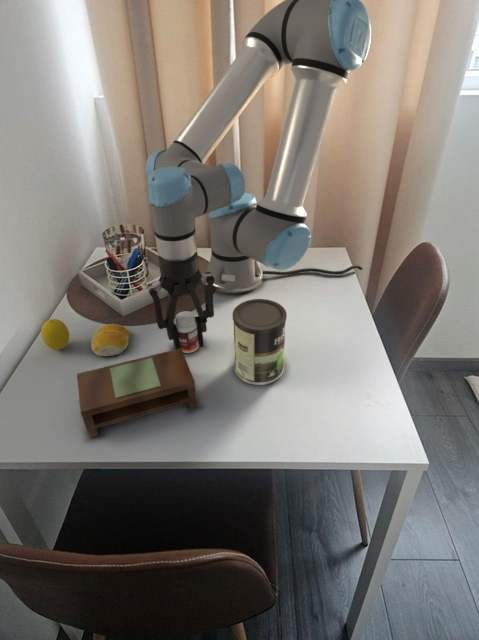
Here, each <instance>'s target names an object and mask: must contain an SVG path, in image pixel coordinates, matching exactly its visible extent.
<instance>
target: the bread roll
mask: <svg viewBox="0 0 479 640" xmlns="http://www.w3.org/2000/svg"><path fill="white" fill-rule="evenodd" d="M129 340H130V331H129V330H128V328H126V327H125V326H124V325H121V324H118V323H108V324H105V325H102V326H100V327H99V328H98V329H97V330H95V332H94V334H93V335H92V336H91V340H90V348H91V351H92V352H93V353H94V354H95V355H97V356H100V357H112V356H118V355H120V354H121V353H122V352H123V351H124V350H126V349H127V347H128V345H129Z"/></svg>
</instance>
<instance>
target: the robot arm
mask: <svg viewBox="0 0 479 640" xmlns="http://www.w3.org/2000/svg"><path fill="white" fill-rule="evenodd" d="M371 37H372V25H371V21H370V16H369V11H368V8H367V7H366V5H365V4H364V3H363V2H362V1H361V0H283V1H281V2H280V3H278V4H277V5H275V6H274V7H273V8H271V9H270V10H269V11H268V12H267V13H265V14H264V15H263V16H262V17H261V18H260V19H259V20H258V21H257V22H256V23H255V25H254V26H253V27H252V28H251V29H250V30H249V32H248V33H247V34H246V35H245V37H244V38H243V39H242V41H241V43H240V52H239V53H238V55H237V56H236V57H235V59H234V60H233V61H232V63H231V64H230V65H229V67H228V68H227V69H226V71H225V72H224V73H223V75H222V76H221V77H220V79H219V80H218V81H217V82H216V84H215V85H214V87H213V88H212V89H211V91H210V92H209V94H208V95H207V96H206V97H205V99H204V100H203V101H202V102H201V104H200V106H199V107H198V108H197V109H196V111H195V112H194V113H193V115H192V116H191V117H190V119H189V120H188V121H187V122H186V124H185V125H184V127H183V128H182V129H181V131H180V132H179V133H178V134H177V136H176V137H175V139H174V140H173V141H172V143H171V144H170V145H169V146H168V148H167V149H158V150H156V151H153V152H152V153H150V155H149V156H148V157H147V160H146V162H145V175H146V177H147V191H148V192H147V193H148V203H149V205H150V213H151V220H152V225H153V230H154V237H155V238H154V239H155V244H156V252H157V255H158V256H157V259H158V266H159V271H160V276H159V278H158V282H156V283H154V284H152V283H148V284H147V285H146V286H147V290H148V293H149V295H150V297H151V299H152V305H153V310H154V316H155V322H156V324H157V327H158V329H159V330H163V329H166V334H167V338H168V340H169V341H172V342H173V347H174V350H176V349H180V348H179V340H178V333H177V328H176V325H175V324H176V322H175V319H176V311H177V304H178V302H179V298H181V297H182V296H189V297H190V300H191V302H192V304H193V306H194V309H195V311H196V313H197V315H196V316H194V317H195V321H196V323H197V328H198V338H199V347H200V348H203V347H204V335H203V333H206V332H207V330H208V329H207V324H208V319H209V318H213V317H214V316H215V306H214V291H215V292H218V293H221V294H226V295H239V294H240V295H241V294H245V293H249V292H252V291H253V290H256V289H257V288H258V287H259V286H260V285H261V284H262V282H263V275H275V276H276V275H277V276H287V275H289V276H290V275H295V274H300V273H306V272H307V273H308V272H314V273H323V274H327V275H343V274H347V273H348V272H350V271H352V270H354V269H358V270H359V271H363V270H364V268H363V267H362V266H361V265H359V264H353V265H351V266H349V267H347V268H345V269H342V270H327V269H322V268H315V267H308V268H300V269H293V270H290V269H292V268H293V267H295V266H296V265H297V264H298V263H299V262H300V261H301V260H302V259H303V257H304V256H305V254H306V252H307V251H308V249H309V247H310V243H311V237H312V236H311V230H310V228H309V227H308V226H307V225H306V223H305V222H306V220H307V215H308V214H307V212H306V210H305V208H304V202H305V199H306V195H307V193H308V190H309V189H308V188H309V186H310V183H311V179H312V174H313V171H314V169H315V168H314V167H315V165H316V161H317V158H318V155H319V151H320V147H321V143H322V140H323V136H324V133H325V130H326V127H327V123H328V120H329V116H330V112H331V109H332V105H333V102H334V99H335V95H336V92H337V90H338V89H339V88H341V87H343V86H344V85H345V84H347V80H348V77H349V74H350V72H353V71H355V70H358V69H359V68H360V67H361V66H362V64H363V63H364V62H365V60H366V59H367V56H368V53H369V50H370V45H371V39H372V38H371ZM290 64H291V66H290V70H291V73H292V75H293V76H294V78H295V81H294V85H293V89H292V93H291V97H290V101H289V104H288V108H287V112H286V116H285V119H284V125H283V128H282V131H281V136H280V140H279V143H278V147H277V150H276V155H275V159H274V163H273V167H272V170H271V175H270V179H269V182H268V187H267V191H266V194H265V195H264V197H263V198H260V199H259V200H258V201H257V200H256V196H255V195H254V194H251V193H246V192H245V191H246V185H245V184H246V182H245V176H244V175H243V173H242V171H241V169H240V168H239V167H238V166H237V165H236V164H235V163H231V162H225V163H218V164H217V165H215V166H214V165H213V166H212V165H209V164H206V162H207V161H208V159H209V157H210V156H211V155H212V154H213V152H214V151H215V150H216V148H217V146H218V145H219V144H220V143H221V141H223V139H224V137H225V136H226V135H227V133H229V131H230V130H231V128H232V127H233V125H234V124H235V123H236V121H237V120H238V119H239V117H240V116H241V115H242V113H243V112H244V111H245V109H246V108H247V106H248V105H249V104H250V102H251V101H252V100H253V98H254V97H255V96H256V94H258V91H260V89H261V88H262V86H263V85H264V84H265V82H266V81H267V80H268V78H274V77H275V76H277V74H278V73H279V72H280V70H282V68H284V67H286V66H287V65H290ZM207 214H208V215H207ZM205 215H207V217H208V226H209V237H210V238H209V239H210V240H209V241H210V250H211V255H210V259H209V261H208V265H207V269H206V272H204V273H203V272H201V271H200V266H199V256H198V252H197V251H198V244H197V233H196V218H198V217H201V216H205ZM261 264H262V265H263V266H264V267H267V268H271V269H274V270H263V269H262V267H261ZM275 270H276V271H275ZM287 270H289V271H287ZM200 282H202V284H203V296H204V308H205V309H204V310H203V307H202V305H201V302H200V299H199V297H198V294H197V292H196V291H197V290H196V289H197V287H198V285H199V284H200ZM162 289H163V290H164V291H166V292H167V301H166V302H167V303H166V310H165V318H164V315H163V309H162V302H161V299H160V295H161V293H162V292H161V290H162Z"/></svg>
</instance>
